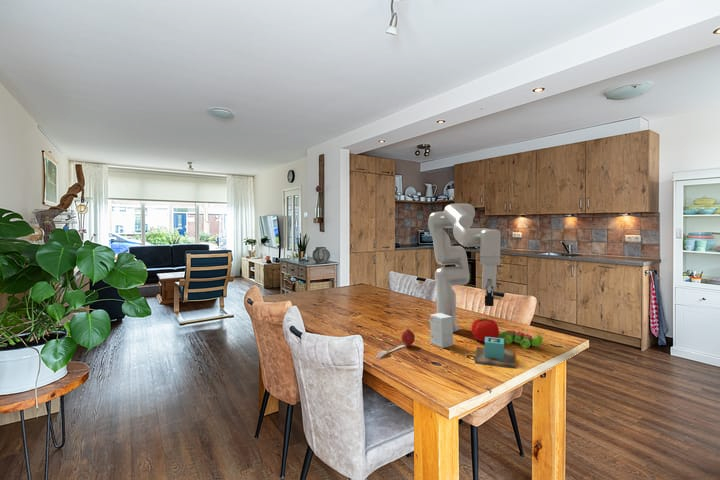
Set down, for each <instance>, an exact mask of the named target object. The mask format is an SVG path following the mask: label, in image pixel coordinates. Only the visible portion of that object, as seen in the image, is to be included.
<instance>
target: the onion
mask: <svg viewBox="0 0 720 480" xmlns="http://www.w3.org/2000/svg"><path fill="white" fill-rule="evenodd" d="M415 340H416V337H415V335H414V332H413V331H411V330H410V328H406V329H405V330H404V331H403V332H402V334H401V341H402V343H403V345H405V346H406V347H411V345H413V343H415Z"/></svg>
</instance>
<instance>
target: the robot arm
mask: <svg viewBox="0 0 720 480" xmlns="http://www.w3.org/2000/svg"><path fill="white" fill-rule="evenodd" d="M443 209H444V210H443V211H436V212H435V211H434V212H431V214H430V215H429V216H428V219H427V220H428V221H427V226H428V231H429V233H430V235H431V238H432V239H431V240H432V241H433V242H432V244H433V250H434V251H433V252H434V258H435V262H436V263H437V264H438V265H442V267H439V268H437V269H436V270H435V271H434V281H435V286H436V287H435V289H436V314H437V313H443V314H446V315H449V316H452V317H453V333H454V332H458V331H460V326H459V325H457V295H456V292H455V290H454V289H453V286H465V285H468V284H469V281H470V278H471V276H470V275H471V274H470V270H469V268H470V267H469V263H468V256H467V251H466V250H465V248H464V247H467V248H469V247H479V265H482V266H481V267H482V271H481V289H482V290H485V291H484V293H485V294H484V306H485V307H494V300H495V299H494V297H495V296H494V293H495V292H494V291H495V290H496V286H497V285H496V284H497V273H498V272H497V271H498V269H497V266H499V265H501V234H502V233H501V231H500V230H498V229H491V228H483V227H481V228H479V227H477V228H476V227H475V228H472V225H473V222H474V220H473V219H475V217H476V210H475V207H474V206H473V205H472V204H470V203H450V204H447V205H446V206H445V207H444V208H443ZM444 229H452V233H453V237H454V239H455V240H456V241H457V242H458V244H460V245H461V246H460V245H451V240H450V236H449V235H448V233H447V231H445V230H444ZM462 246H463V247H462ZM443 265H445V266H443ZM448 265H455V266H448ZM428 323H429V324H430V318H428Z"/></svg>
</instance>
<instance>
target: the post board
mask: <svg viewBox="0 0 720 480" xmlns="http://www.w3.org/2000/svg"><path fill="white" fill-rule="evenodd" d="M491 342H498V340H495V339H492V340H491ZM474 363H475V364H479V365H488V366H494V367H495V366H497V367H503V368H513V369H515V367H516V366H515V358H514V350H511V349H504V359H495V358H487V357H485V346H484V347H483V346H476V349H475V357H474Z"/></svg>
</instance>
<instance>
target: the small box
mask: <svg viewBox="0 0 720 480" xmlns="http://www.w3.org/2000/svg"><path fill="white" fill-rule="evenodd" d="M429 316H430V318H429V319H430V323H429V324H430V327H429V328H430V332H429V333H430V334H429V335H430V344H432V345H435V346H436V347H439V348H441V349H444V348H448V347H452V346H453V345H454V341H453V339H454V335H453V334H454V332H453V317H452V316H449V315H446V314H443V313H437V312H436V313H432V314H430V315H429Z"/></svg>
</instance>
